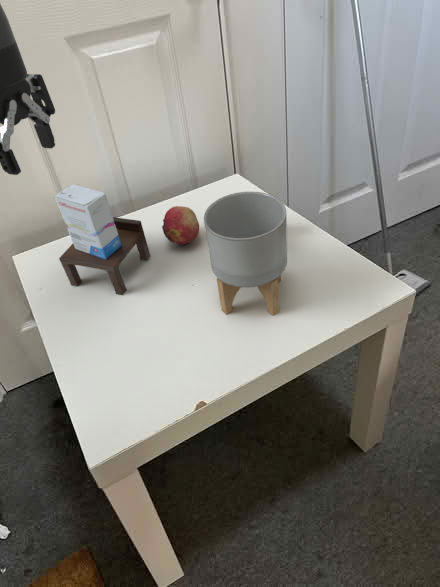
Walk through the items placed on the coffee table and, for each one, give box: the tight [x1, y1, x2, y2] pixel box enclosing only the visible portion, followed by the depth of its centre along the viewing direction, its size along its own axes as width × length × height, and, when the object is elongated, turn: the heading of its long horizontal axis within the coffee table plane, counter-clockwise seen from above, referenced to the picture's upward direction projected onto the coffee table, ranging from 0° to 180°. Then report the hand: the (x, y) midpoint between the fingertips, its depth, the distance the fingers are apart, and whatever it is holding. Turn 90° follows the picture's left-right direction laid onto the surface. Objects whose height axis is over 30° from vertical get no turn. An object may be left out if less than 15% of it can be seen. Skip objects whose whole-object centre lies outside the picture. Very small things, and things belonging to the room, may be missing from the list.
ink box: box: [54, 183, 122, 259], centre depth 84 cm, size 9×5×12 cm, turn 58°
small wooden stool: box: [58, 216, 151, 296], centre depth 91 cm, size 12×12×9 cm
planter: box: [203, 191, 288, 316], centre depth 78 cm, size 13×13×18 cm
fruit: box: [161, 205, 200, 246], centre depth 95 cm, size 8×8×8 cm
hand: (32, 159), depth 70 cm, fingers open, 8 cm apart
